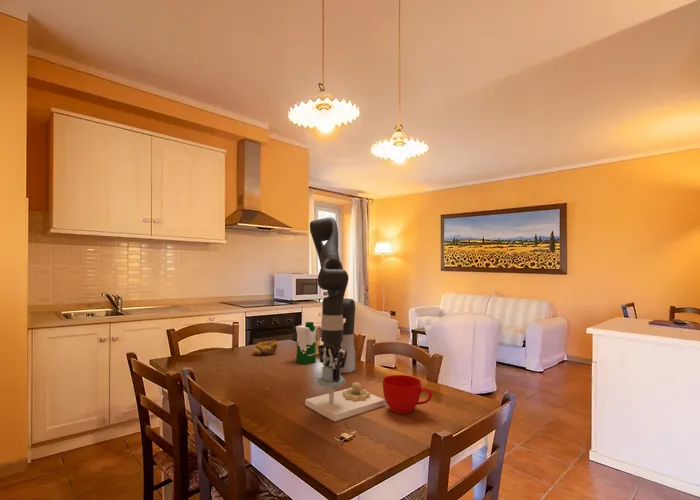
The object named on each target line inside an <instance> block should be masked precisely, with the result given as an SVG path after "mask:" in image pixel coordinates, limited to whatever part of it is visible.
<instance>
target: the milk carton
mask: <svg viewBox="0 0 700 500" xmlns="http://www.w3.org/2000/svg"><path fill="white" fill-rule="evenodd" d="M314 325H315V323H314V322H313V321H307V322H305V324H301V325H296V326H295V330H296V358H295V363H297V364H302V365H310V364H313V363H314V364H315V363H317V362H316V354H315V334H316V329H317V326H314Z"/></svg>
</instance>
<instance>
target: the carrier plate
mask: <svg viewBox="0 0 700 500" xmlns="http://www.w3.org/2000/svg"><path fill="white" fill-rule="evenodd" d="M351 384H352V386H351V387H349V388H348V387H347V388H345V389H342V390H338V391H335V390H334V389H333V388H329V391H328V393H325V394H322V395H317V396H314V397H309V398H307V399H305V402H304V403H305V406H306V407H307V408H309V409H311V410H313V411H314V412H317V413H318V414H320V415H322V416H324V417H326V418H327V419H329V420H331V421H333V422H337V421H340V420H344V419H347V418H350V417H353V416H356V415H359V414H363V413H366V412H369V411H371V410H375V409H379V408H382V407H384V406H385V405H386V400H385V398H382V397H379V396H378V395H374V394H373V393H371V392H369V391H367V389H364V388H363V389H361V383H360V382H357V381H355V382H352V383H351Z"/></svg>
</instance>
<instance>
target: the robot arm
mask: <svg viewBox="0 0 700 500" xmlns="http://www.w3.org/2000/svg"><path fill="white" fill-rule="evenodd" d="M309 231H310V235H311V237H312V241H313V244H314V247H315V250H316V253H317V256H318V261H319V265H320V270H319V272H318V274H317V285H318V287H319V288H320V289H321V290H326V291H327V296H325V297H324V298H323V299H322V303H321V304H322V305H321V306H322V309H321V310H322V311H321V312H322V313H321V320H320V321H321V323H320V324H321V325H320V342H322V344H320V345H319V346H318V351H319V354H318V358H319V362H320V363H321V364H322V366H323V367H324V366H329V365H333V380H334V381H336V380H339V377H340V376H339V375H340V368H341V374H349V373H353V372H354V371H356V349H355V348H354V347H355V345H354V344H355V339H354V338H355V337H354V336H355V319H356V303H355V300H354V298H344V297H345V294H346V290H347V286H348V284H349V273H348V272H347V270H345V269H344V267H343V264H342V262H341V260H340V254H339V229H338V224H337V221H336V218H334V217H332V216H330V217H329V216H327V217H322V218H318V219H314V220H311V221H310V223H309ZM323 242H325V243H323ZM344 319H345V321H344Z"/></svg>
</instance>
